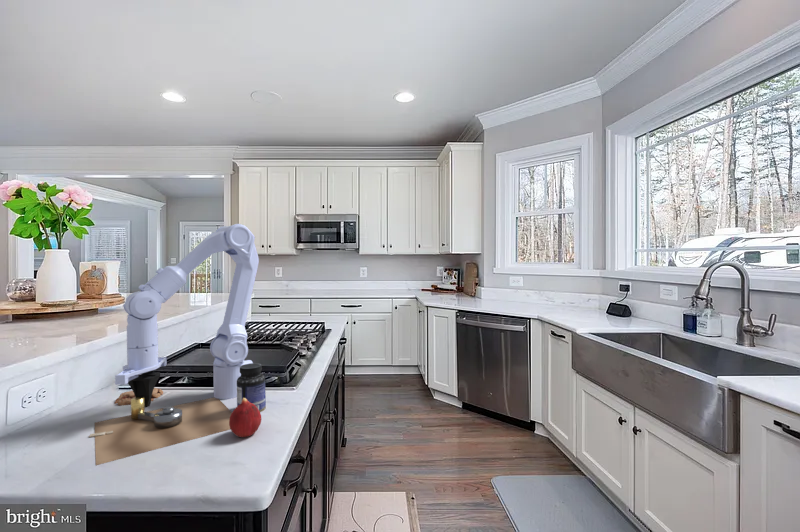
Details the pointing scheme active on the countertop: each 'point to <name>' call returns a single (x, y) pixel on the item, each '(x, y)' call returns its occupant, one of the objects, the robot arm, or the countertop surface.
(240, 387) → the pill bottle
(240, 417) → the red rounded piece
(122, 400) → the cookie
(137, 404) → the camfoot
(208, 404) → the brown cutting board
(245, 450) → the countertop surface
